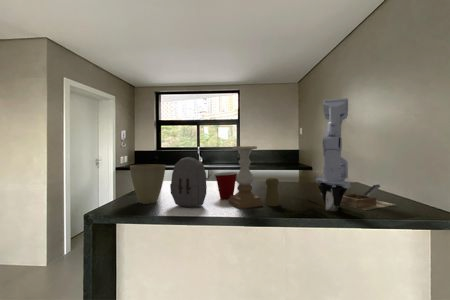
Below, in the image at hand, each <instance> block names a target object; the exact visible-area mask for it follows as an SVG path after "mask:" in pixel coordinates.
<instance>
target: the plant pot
mask: <svg viewBox="0 0 450 300" xmlns="http://www.w3.org/2000/svg"><path fill="white" fill-rule="evenodd" d="M129 171H130V176H131V177H130V178H131V180H132V186H133V188H134V192H135V194H136V198H137V200H138V203H139V204H141V203H142V204H143V205H150V203H151V204H154V203H157V202H158V200H159V196H160V194H161V192H162V191H161V190H162V187H163V184H164V180H165V179H164V178H165V172H166V164H158V163H157V164H156V163H154V164H150V163H149V164H147V163H146V164H134V165H133V164H132V165H130V166H129Z"/></svg>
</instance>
